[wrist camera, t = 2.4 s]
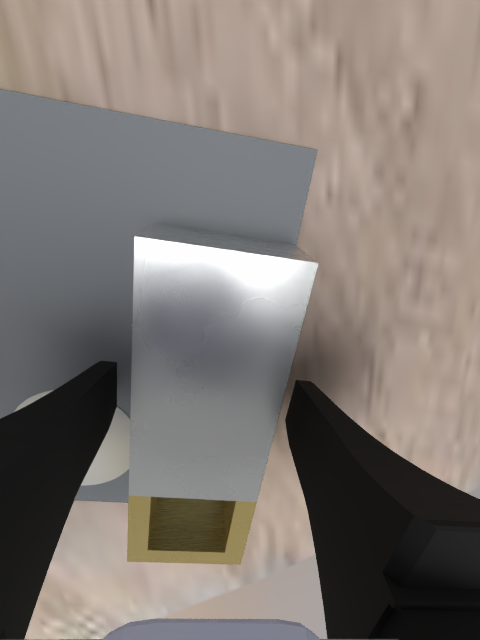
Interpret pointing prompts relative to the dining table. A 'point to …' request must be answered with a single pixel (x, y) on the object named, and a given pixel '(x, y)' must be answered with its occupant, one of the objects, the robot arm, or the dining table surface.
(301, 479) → the robot arm
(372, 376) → the dining table surface
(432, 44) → the dining table surface
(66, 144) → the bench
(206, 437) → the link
